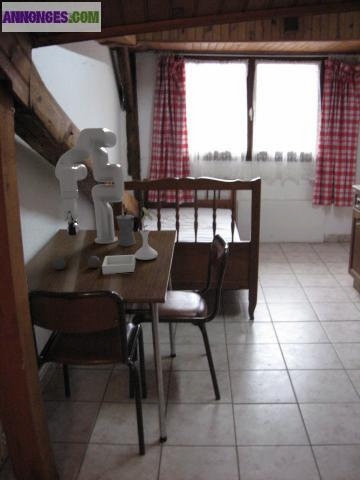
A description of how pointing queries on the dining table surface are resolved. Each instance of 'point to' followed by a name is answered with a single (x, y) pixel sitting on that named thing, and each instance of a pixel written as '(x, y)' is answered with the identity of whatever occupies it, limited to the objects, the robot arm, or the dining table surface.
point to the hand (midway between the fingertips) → (73, 232)
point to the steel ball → (76, 228)
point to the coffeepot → (127, 229)
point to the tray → (118, 264)
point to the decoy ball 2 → (94, 261)
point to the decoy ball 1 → (59, 263)
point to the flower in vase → (145, 243)
